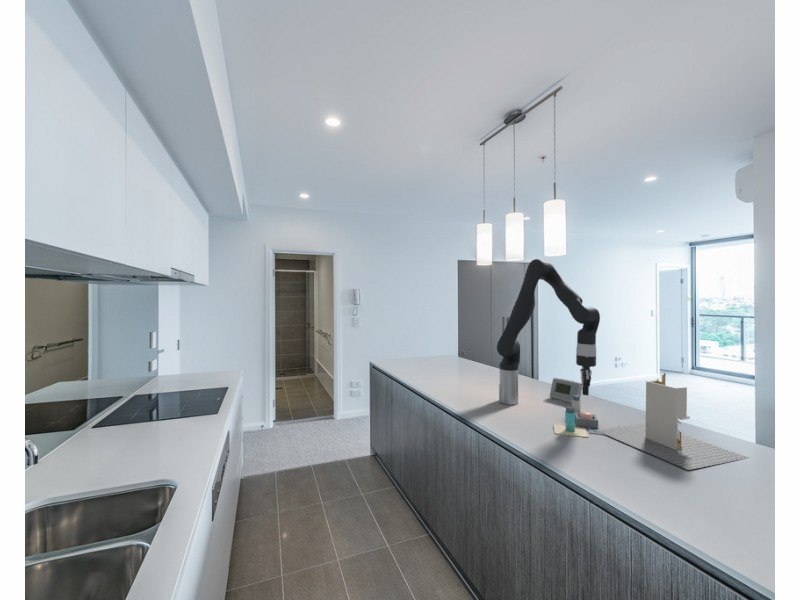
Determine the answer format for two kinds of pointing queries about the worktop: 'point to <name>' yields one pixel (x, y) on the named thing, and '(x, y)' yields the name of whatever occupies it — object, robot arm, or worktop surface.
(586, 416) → the button
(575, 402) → the marker grey
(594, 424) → the button housing
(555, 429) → the sketch pad
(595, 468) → the worktop surface
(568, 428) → the marker teal
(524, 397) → the worktop surface
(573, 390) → the digital clock
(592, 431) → the card
